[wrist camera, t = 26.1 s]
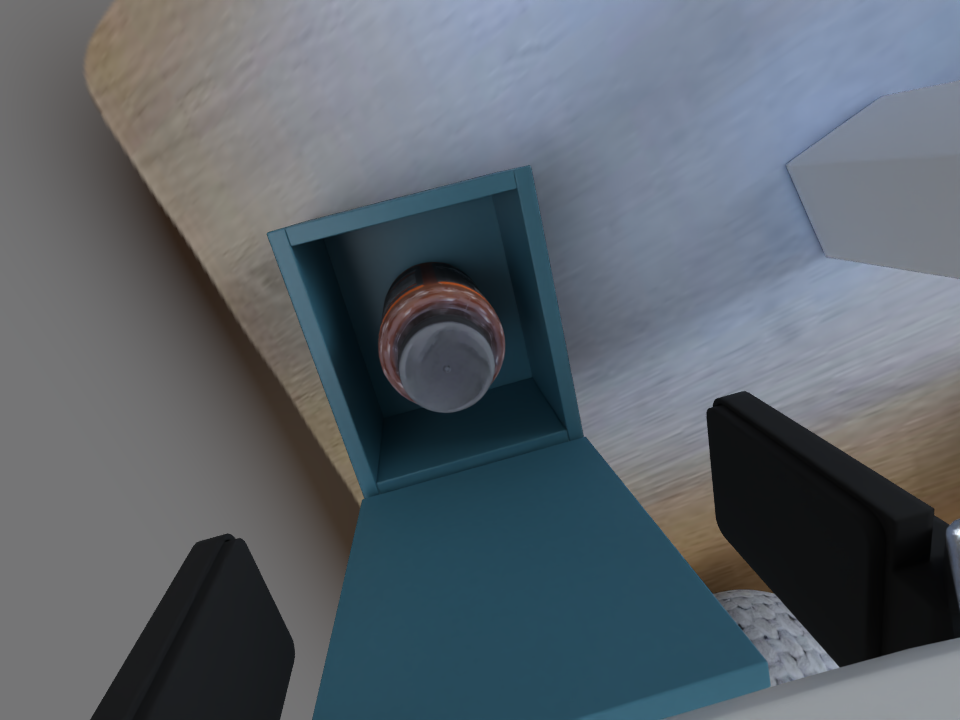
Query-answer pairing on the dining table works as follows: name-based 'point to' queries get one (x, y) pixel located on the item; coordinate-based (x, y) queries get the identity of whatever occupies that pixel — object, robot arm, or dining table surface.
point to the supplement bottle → (439, 338)
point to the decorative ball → (776, 635)
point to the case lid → (526, 604)
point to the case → (358, 312)
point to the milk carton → (889, 183)
